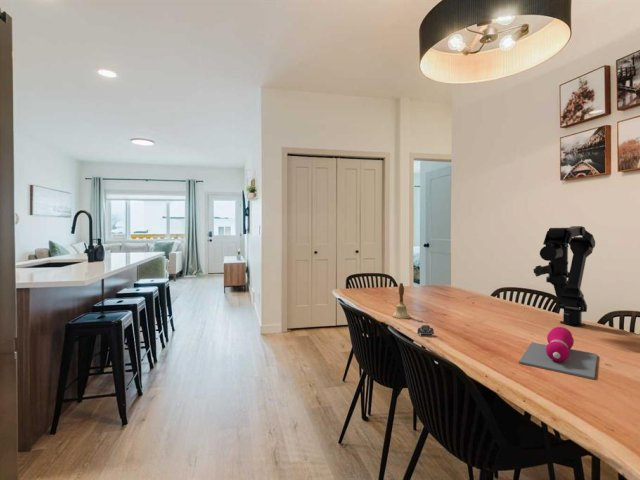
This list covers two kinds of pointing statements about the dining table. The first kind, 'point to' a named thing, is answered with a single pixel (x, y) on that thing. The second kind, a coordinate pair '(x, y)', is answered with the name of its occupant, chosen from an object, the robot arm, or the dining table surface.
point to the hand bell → (401, 305)
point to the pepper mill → (559, 344)
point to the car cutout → (425, 330)
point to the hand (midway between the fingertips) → (558, 298)
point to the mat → (574, 365)
